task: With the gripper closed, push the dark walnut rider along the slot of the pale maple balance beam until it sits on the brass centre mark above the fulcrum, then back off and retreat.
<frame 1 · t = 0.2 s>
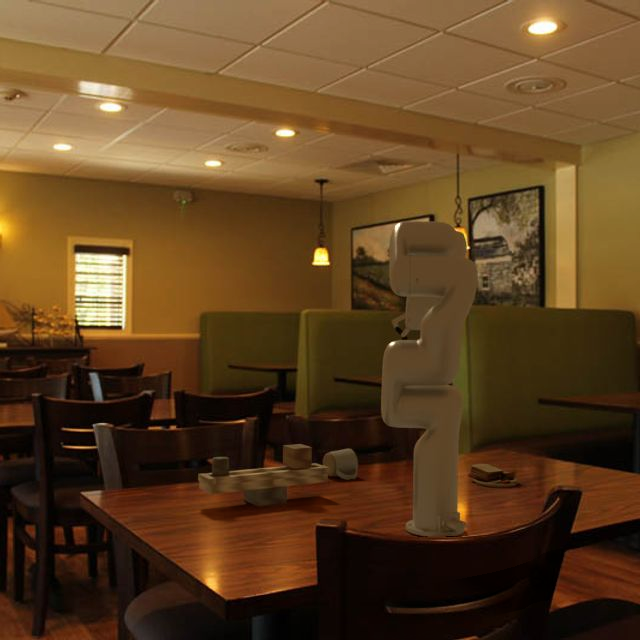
hand: (424, 352, 208), 37 cm above the table, tool pointing down, fingers open, 9 cm apart
beam: (264, 501, 201), on the table
rider: (297, 459, 206), point 10 cm above the table, slide at -9.0 cm
toy sandwich meal: (493, 484, 227), on the table
ceramic mug: (343, 477, 234), on the table
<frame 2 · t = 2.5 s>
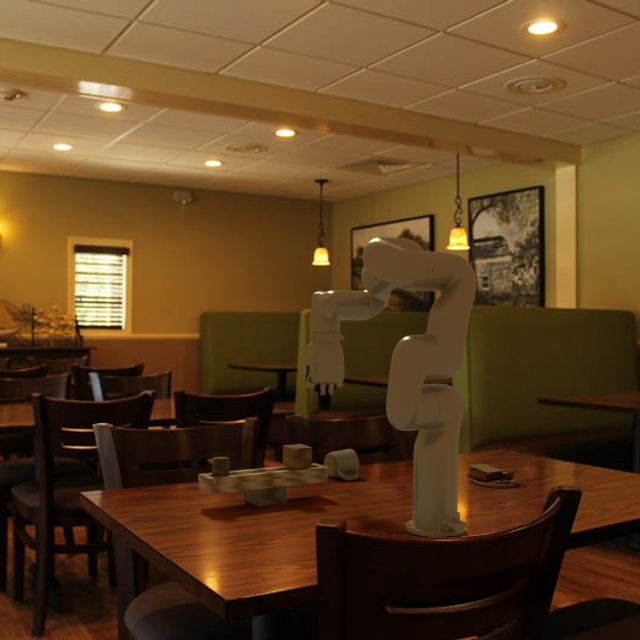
hand: (324, 409, 210), 22 cm above the table, tool pointing down, fingers closed
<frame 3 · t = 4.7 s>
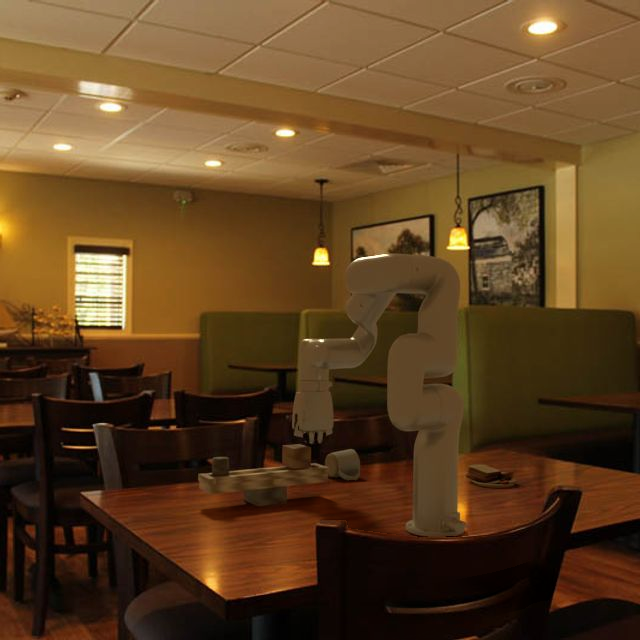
hand: (313, 458, 208), 10 cm above the table, tool pointing down, fingers closed
rider: (296, 459, 205), point 10 cm above the table, slide at -8.8 cm, touching gripper
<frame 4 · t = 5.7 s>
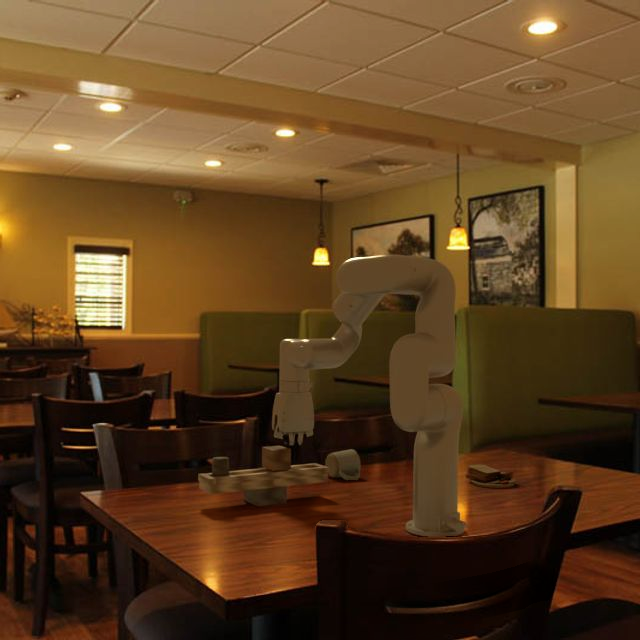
hand: (293, 459, 205), 10 cm above the table, tool pointing down, fingers closed
rider: (276, 461, 203), point 10 cm above the table, slide at -3.0 cm, touching gripper
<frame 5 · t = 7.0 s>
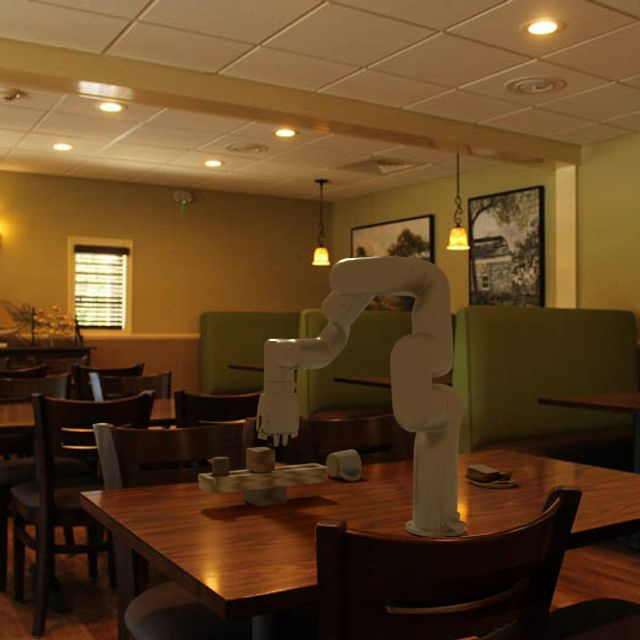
hand: (278, 461, 203), 10 cm above the table, tool pointing down, fingers closed
rider: (260, 463, 200), point 10 cm above the table, slide at 1.3 cm, touching gripper
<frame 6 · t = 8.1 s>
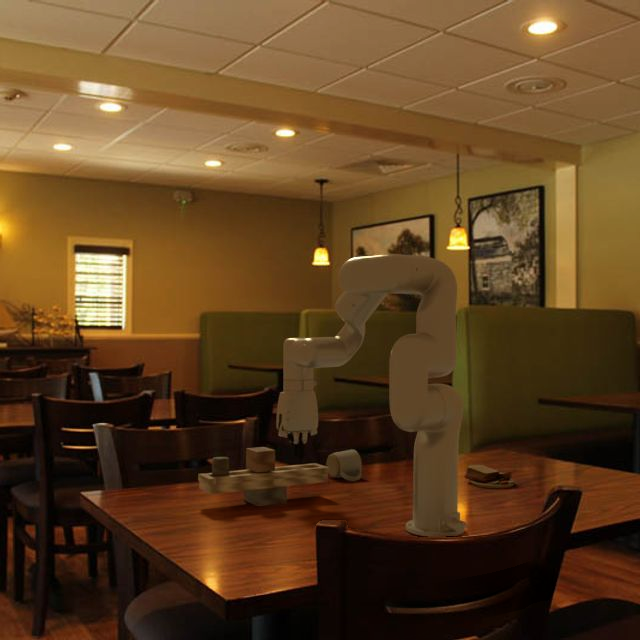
hand: (297, 458, 205), 10 cm above the table, tool pointing down, fingers closed
rider: (260, 463, 200), point 10 cm above the table, slide at 1.4 cm
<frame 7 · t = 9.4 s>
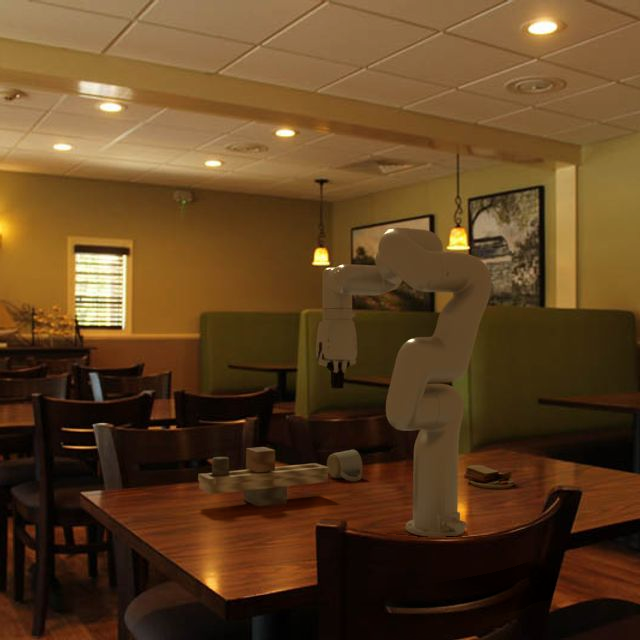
hand: (337, 388, 206), 28 cm above the table, tool pointing down, fingers closed
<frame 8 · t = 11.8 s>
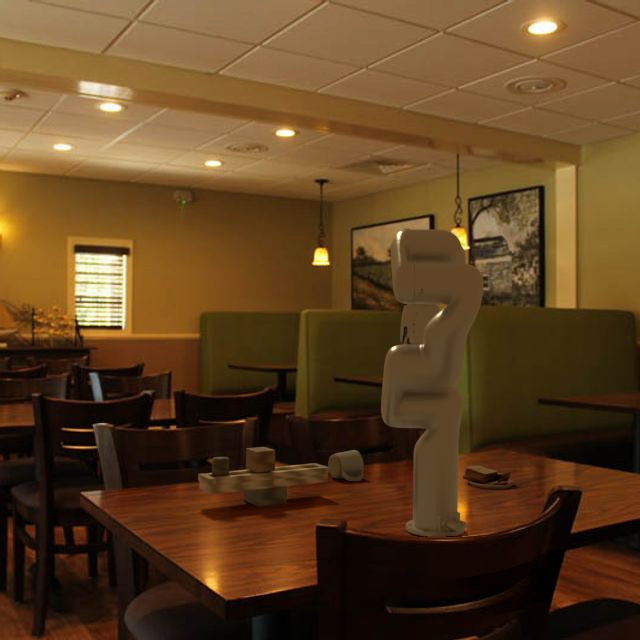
hand: (421, 372, 204), 32 cm above the table, tool pointing down, fingers closed
at the end: rider slide at 1.4 cm; rider touching nothing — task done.
